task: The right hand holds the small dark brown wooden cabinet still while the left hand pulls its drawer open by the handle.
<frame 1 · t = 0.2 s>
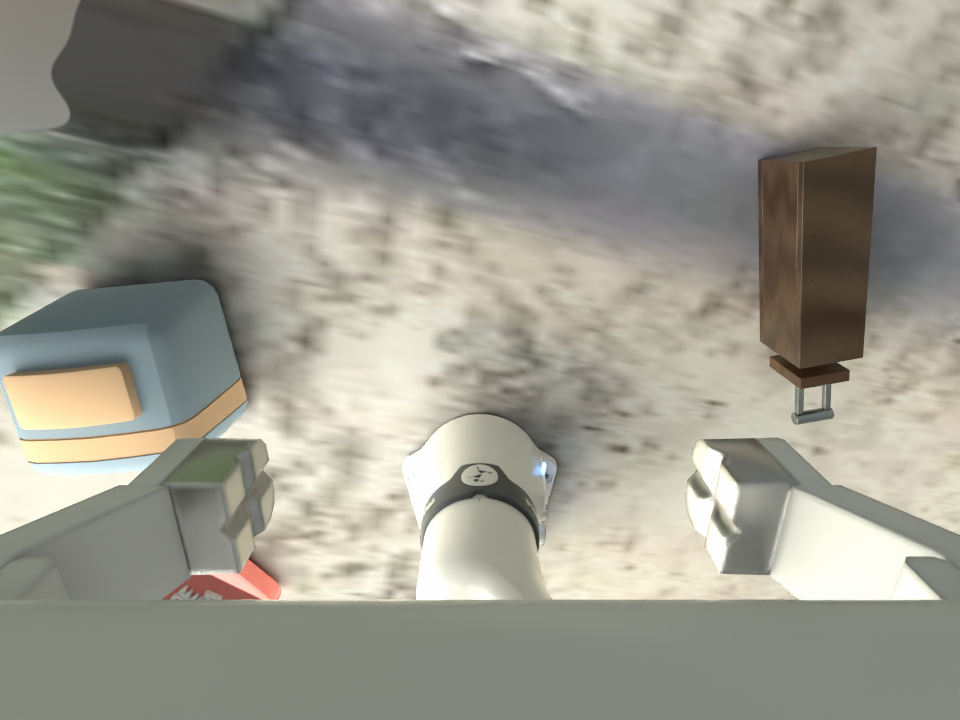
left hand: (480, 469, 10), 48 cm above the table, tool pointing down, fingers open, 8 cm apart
cabinet: (788, 250, 56), on the table
alarm clock: (169, 350, 61), on the table
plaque: (219, 599, 74), on the table
drawer: (808, 315, 55), point 4 cm above the table, slide at 1.6 cm
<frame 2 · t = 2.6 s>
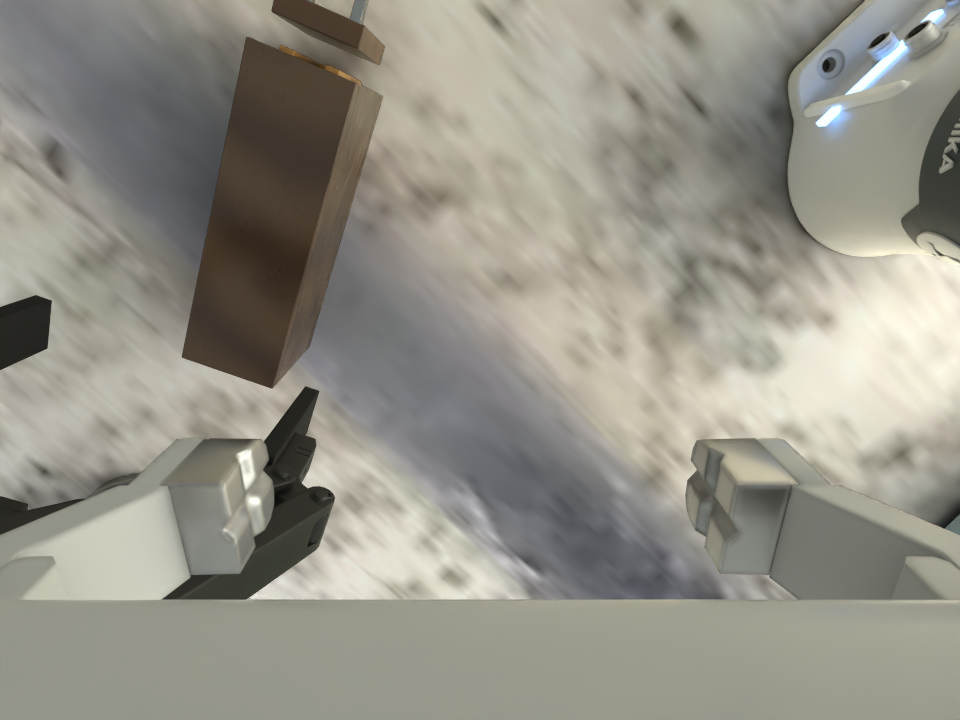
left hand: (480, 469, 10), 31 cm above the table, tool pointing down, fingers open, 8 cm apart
cabinet: (303, 216, 39), on the table
drawer: (307, 132, 33), point 4 cm above the table, slide at 1.6 cm
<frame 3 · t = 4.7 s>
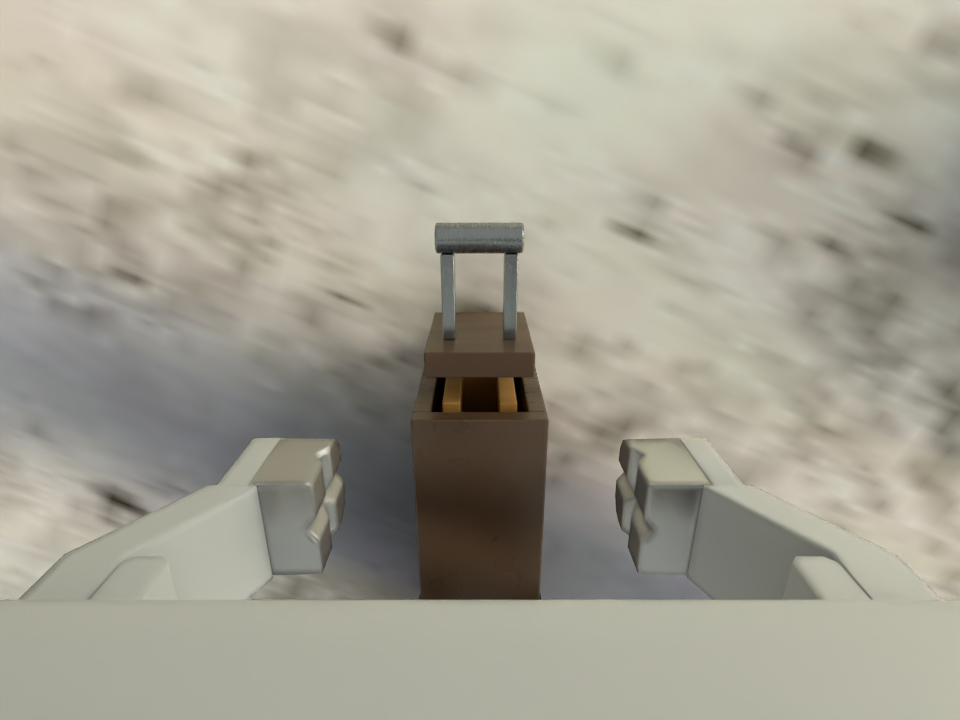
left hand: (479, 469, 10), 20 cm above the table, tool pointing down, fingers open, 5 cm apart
cabinet: (479, 495, 35), on the table, touching right hand
drawer: (479, 446, 29), point 4 cm above the table, slide at 1.6 cm
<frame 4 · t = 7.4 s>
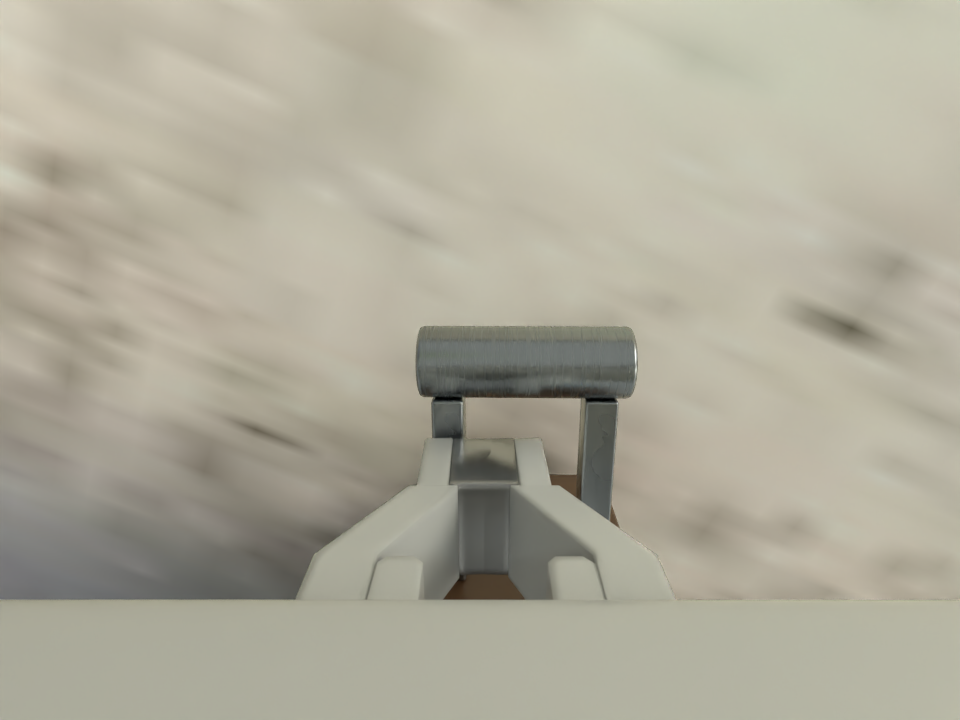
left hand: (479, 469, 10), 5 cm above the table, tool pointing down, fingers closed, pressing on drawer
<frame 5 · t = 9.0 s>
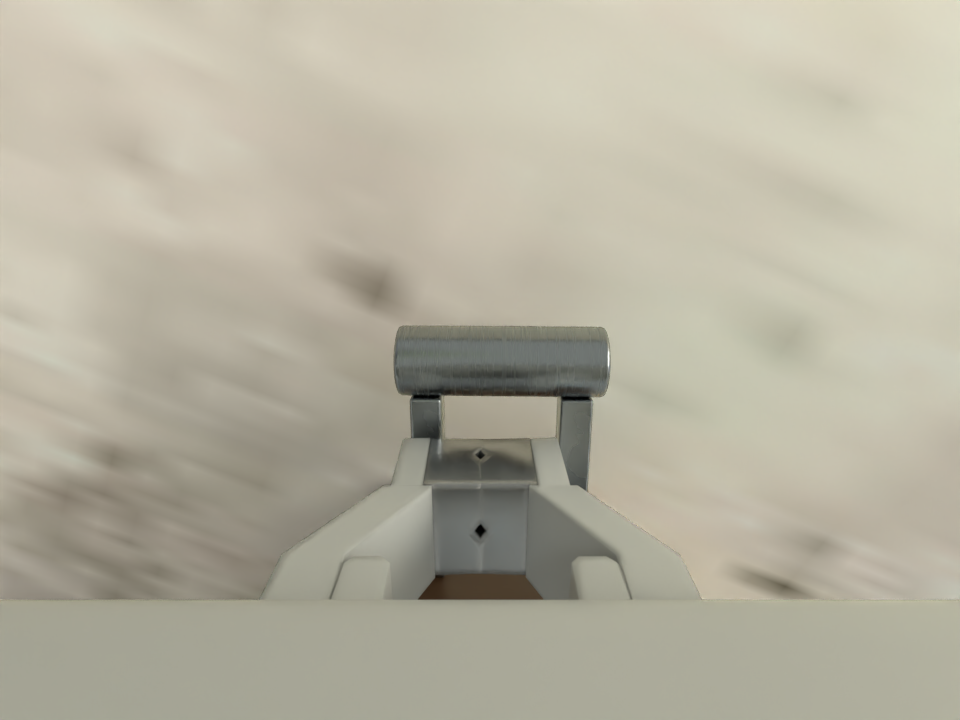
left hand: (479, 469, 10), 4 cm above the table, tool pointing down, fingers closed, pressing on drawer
when the right hand's fingers open (2 cm above the table, at t = 10.5 s): cabinet stays where it is, on the table.
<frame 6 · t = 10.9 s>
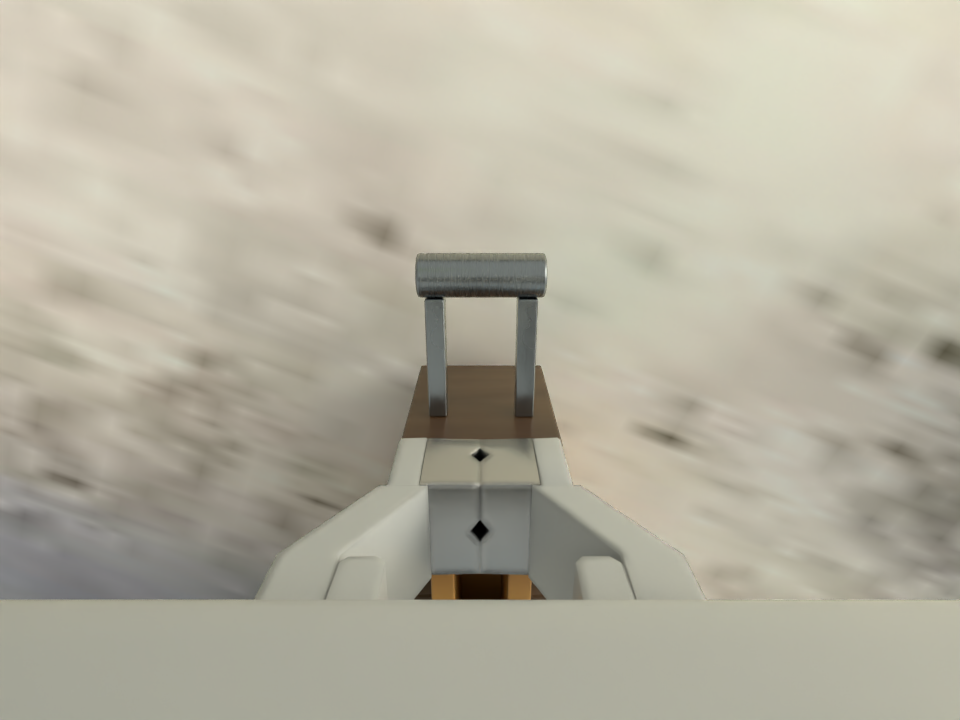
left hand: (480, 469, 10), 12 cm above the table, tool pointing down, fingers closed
cabinet: (481, 698, 30), on the table
drawer: (481, 548, 21), point 4 cm above the table, slide at 9.5 cm
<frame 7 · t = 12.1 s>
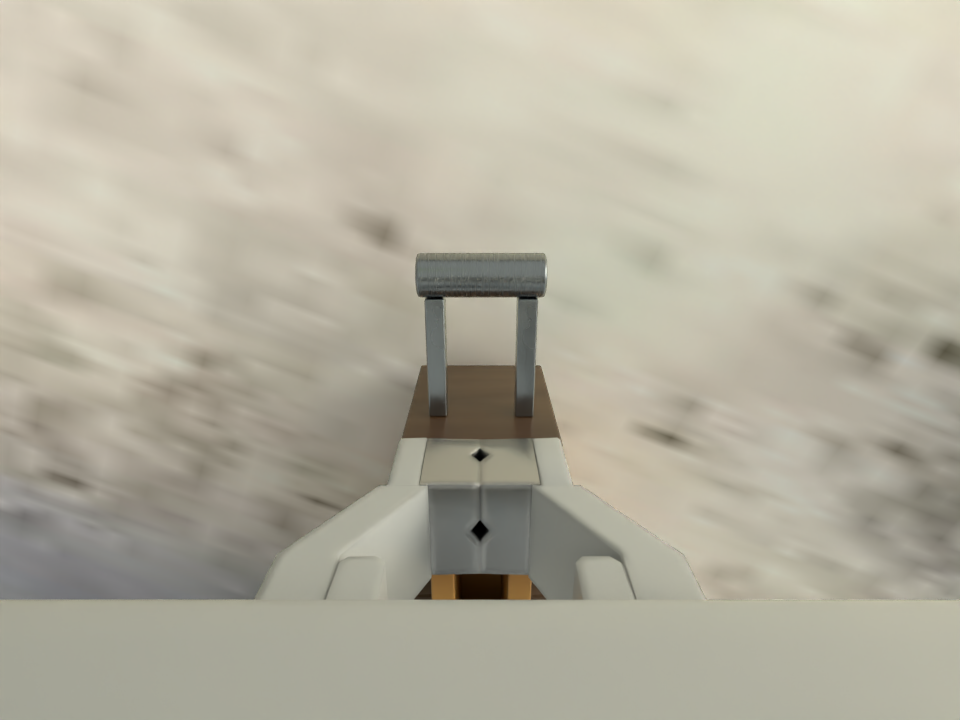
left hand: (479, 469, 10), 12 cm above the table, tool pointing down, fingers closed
cabinet: (481, 698, 30), on the table
drawer: (481, 548, 21), point 4 cm above the table, slide at 9.5 cm
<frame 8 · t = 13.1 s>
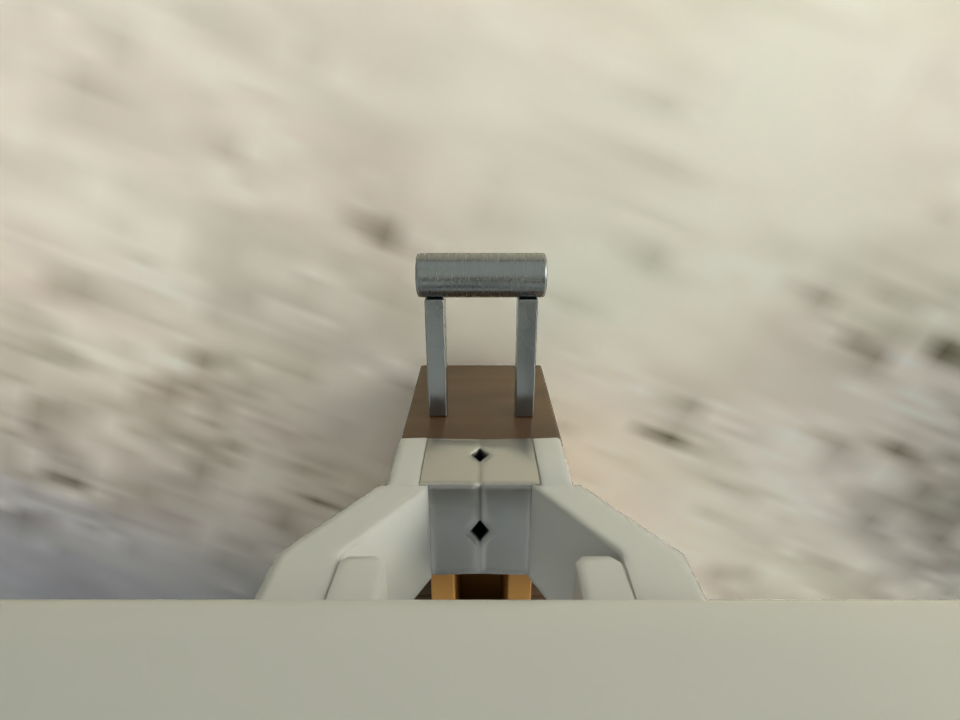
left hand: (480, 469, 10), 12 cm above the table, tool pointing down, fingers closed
cabinet: (481, 698, 30), on the table
drawer: (481, 548, 21), point 4 cm above the table, slide at 9.5 cm
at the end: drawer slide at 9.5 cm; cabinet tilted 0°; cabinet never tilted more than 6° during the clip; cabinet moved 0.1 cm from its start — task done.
